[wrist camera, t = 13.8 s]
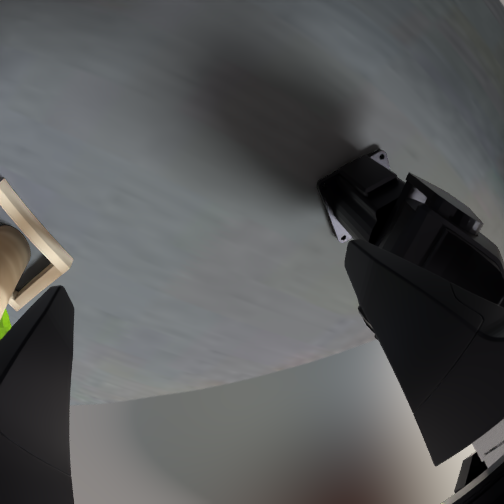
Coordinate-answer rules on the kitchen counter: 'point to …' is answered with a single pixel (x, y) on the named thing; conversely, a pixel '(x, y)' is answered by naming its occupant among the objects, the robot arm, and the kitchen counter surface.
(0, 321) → the cloth
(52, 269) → the birch collar
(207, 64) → the kitchen counter surface
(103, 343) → the kitchen counter surface
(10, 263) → the tall beech pin
